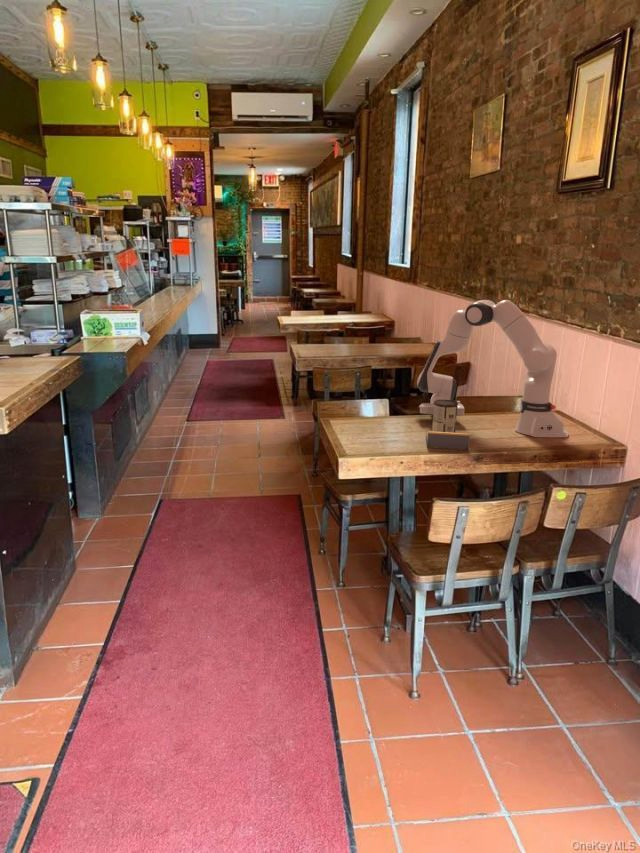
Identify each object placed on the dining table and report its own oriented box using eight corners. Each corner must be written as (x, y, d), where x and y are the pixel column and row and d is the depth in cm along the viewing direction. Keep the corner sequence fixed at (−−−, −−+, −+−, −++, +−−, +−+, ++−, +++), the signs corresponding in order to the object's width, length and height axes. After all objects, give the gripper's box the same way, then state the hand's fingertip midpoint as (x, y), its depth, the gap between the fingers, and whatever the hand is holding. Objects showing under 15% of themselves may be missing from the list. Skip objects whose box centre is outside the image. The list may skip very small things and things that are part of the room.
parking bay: (464, 440, 265) (466, 425, 263) (468, 450, 252) (469, 434, 250) (425, 438, 267) (426, 423, 265) (426, 447, 254) (428, 432, 252)
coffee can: (439, 428, 282) (442, 398, 279) (459, 433, 276) (462, 402, 272) (426, 433, 275) (429, 401, 271) (447, 438, 268) (450, 406, 265)
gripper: (419, 398, 296) (420, 405, 283) (463, 401, 294) (466, 407, 281) (418, 411, 298) (419, 419, 285) (461, 414, 296) (465, 421, 283)
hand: (443, 413), depth 283 cm, fingers closed
